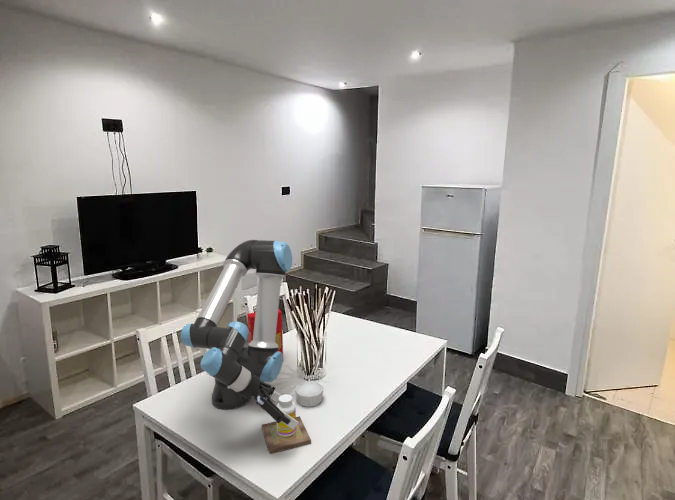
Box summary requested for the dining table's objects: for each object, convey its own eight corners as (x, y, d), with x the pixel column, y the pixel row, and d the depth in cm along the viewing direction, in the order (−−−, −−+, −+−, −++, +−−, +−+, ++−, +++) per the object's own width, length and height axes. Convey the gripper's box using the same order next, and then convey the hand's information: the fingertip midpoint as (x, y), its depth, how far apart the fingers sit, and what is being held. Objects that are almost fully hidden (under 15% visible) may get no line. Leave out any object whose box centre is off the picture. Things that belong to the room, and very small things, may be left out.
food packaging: (252, 368, 189) (250, 317, 184) (249, 364, 194) (247, 313, 188) (283, 361, 196) (281, 312, 191) (279, 357, 200) (277, 308, 195)
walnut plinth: (261, 428, 147) (261, 424, 147) (299, 419, 152) (299, 416, 152) (269, 453, 134) (269, 449, 134) (311, 443, 139) (310, 439, 139)
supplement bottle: (298, 435, 141) (297, 401, 138) (279, 439, 139) (277, 405, 136) (293, 423, 147) (292, 391, 144) (275, 427, 145) (274, 394, 142)
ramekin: (303, 390, 171) (302, 379, 170) (327, 396, 167) (327, 384, 166) (290, 405, 161) (290, 392, 160) (316, 411, 157) (316, 398, 156)
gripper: (231, 373, 145) (275, 402, 153) (241, 412, 122) (292, 445, 130) (246, 356, 145) (288, 387, 154) (258, 393, 122) (308, 426, 131)
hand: (290, 413), depth 142 cm, fingers open, 13 cm apart
